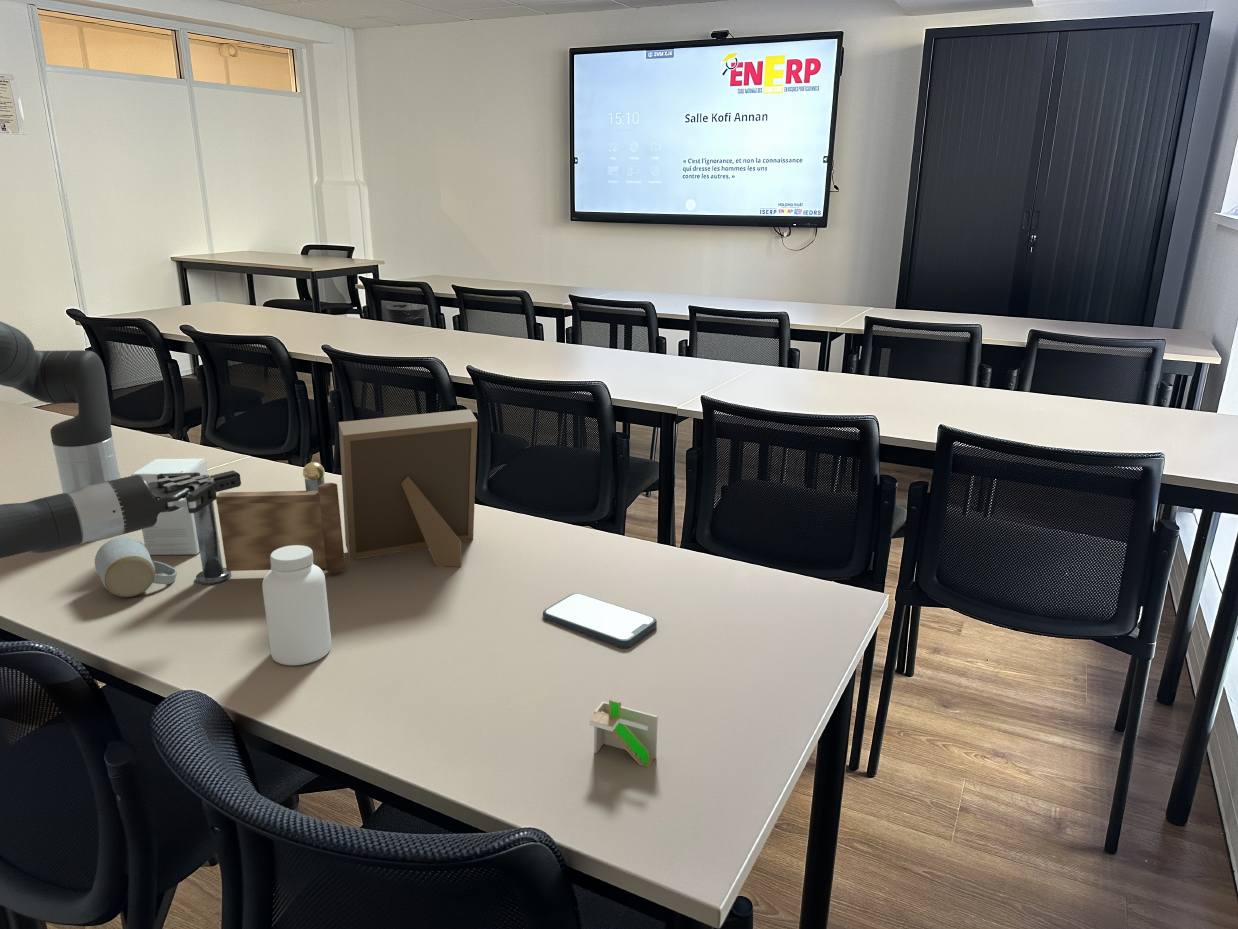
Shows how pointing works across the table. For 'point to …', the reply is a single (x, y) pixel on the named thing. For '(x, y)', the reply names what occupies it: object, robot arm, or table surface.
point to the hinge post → (209, 548)
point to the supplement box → (176, 527)
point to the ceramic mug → (129, 567)
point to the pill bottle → (296, 607)
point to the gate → (281, 526)
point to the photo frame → (409, 484)
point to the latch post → (313, 477)
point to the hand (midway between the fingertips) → (238, 477)
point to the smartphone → (600, 620)
